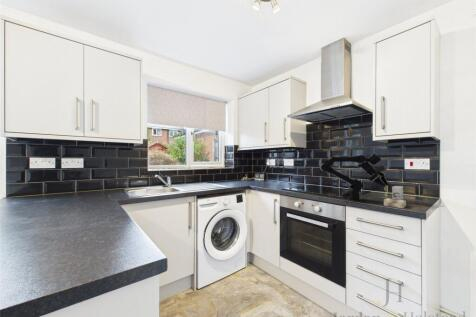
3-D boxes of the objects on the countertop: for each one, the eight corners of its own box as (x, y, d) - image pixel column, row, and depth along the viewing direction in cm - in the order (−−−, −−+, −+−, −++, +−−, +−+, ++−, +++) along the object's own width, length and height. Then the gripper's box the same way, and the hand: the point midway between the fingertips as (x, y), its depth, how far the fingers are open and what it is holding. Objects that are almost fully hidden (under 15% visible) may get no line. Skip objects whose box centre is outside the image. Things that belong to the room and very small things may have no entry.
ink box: (394, 202, 143) (394, 185, 143) (403, 203, 139) (403, 186, 139) (391, 204, 137) (391, 186, 137) (401, 205, 133) (401, 187, 133)
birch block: (383, 205, 134) (383, 199, 134) (386, 204, 139) (386, 198, 139) (403, 208, 126) (403, 202, 126) (405, 206, 131) (405, 200, 131)
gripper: (374, 161, 140) (394, 179, 132) (381, 161, 153) (400, 177, 144) (361, 172, 146) (379, 190, 138) (369, 171, 158) (386, 187, 150)
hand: (387, 185), depth 142 cm, fingers open, 9 cm apart
